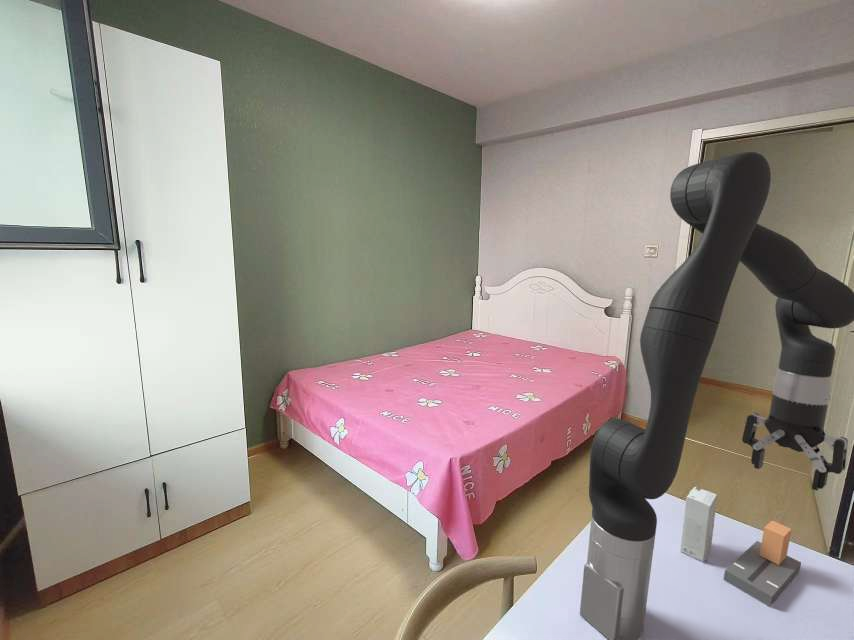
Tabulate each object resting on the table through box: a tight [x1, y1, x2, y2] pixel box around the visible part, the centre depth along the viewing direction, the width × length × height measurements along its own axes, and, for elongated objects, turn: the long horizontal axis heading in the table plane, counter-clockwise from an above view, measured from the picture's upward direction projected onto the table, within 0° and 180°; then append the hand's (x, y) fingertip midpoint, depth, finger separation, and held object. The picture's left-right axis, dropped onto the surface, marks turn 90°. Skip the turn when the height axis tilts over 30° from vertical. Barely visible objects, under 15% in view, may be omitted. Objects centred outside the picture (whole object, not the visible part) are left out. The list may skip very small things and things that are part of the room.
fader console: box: [723, 540, 802, 607], centre depth 77 cm, size 15×7×2 cm, turn 123°
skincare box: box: [680, 486, 718, 563], centre depth 83 cm, size 6×4×12 cm
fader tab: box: [760, 520, 792, 565], centre depth 79 cm, size 4×3×6 cm
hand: (785, 477), depth 77 cm, fingers open, 8 cm apart
